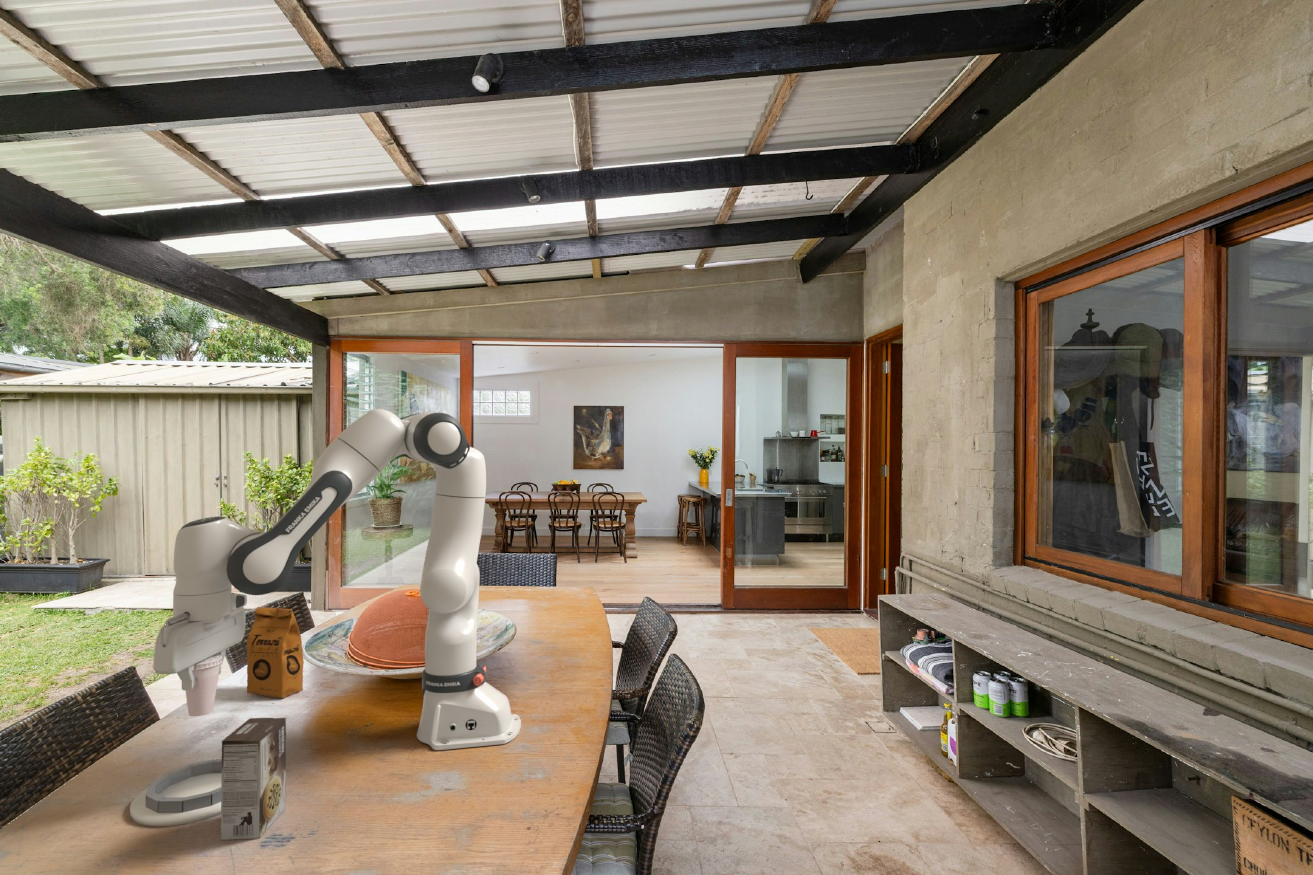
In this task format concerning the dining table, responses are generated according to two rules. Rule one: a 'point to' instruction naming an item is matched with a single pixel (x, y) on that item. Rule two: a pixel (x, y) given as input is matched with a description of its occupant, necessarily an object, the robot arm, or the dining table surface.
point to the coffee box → (253, 778)
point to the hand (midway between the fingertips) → (201, 682)
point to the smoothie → (204, 686)
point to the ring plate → (181, 796)
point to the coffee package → (274, 654)
